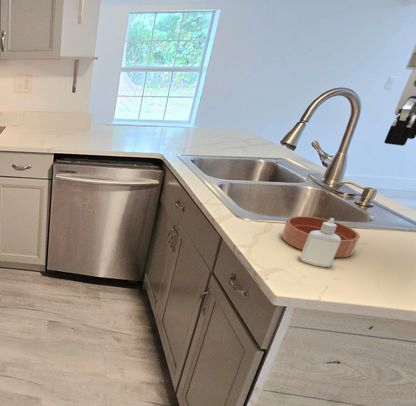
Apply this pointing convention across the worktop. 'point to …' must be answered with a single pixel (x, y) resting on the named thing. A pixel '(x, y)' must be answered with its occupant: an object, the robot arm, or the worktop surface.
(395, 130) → the robot arm
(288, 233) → the bowl
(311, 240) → the eye dropper bottle
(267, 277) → the worktop surface
